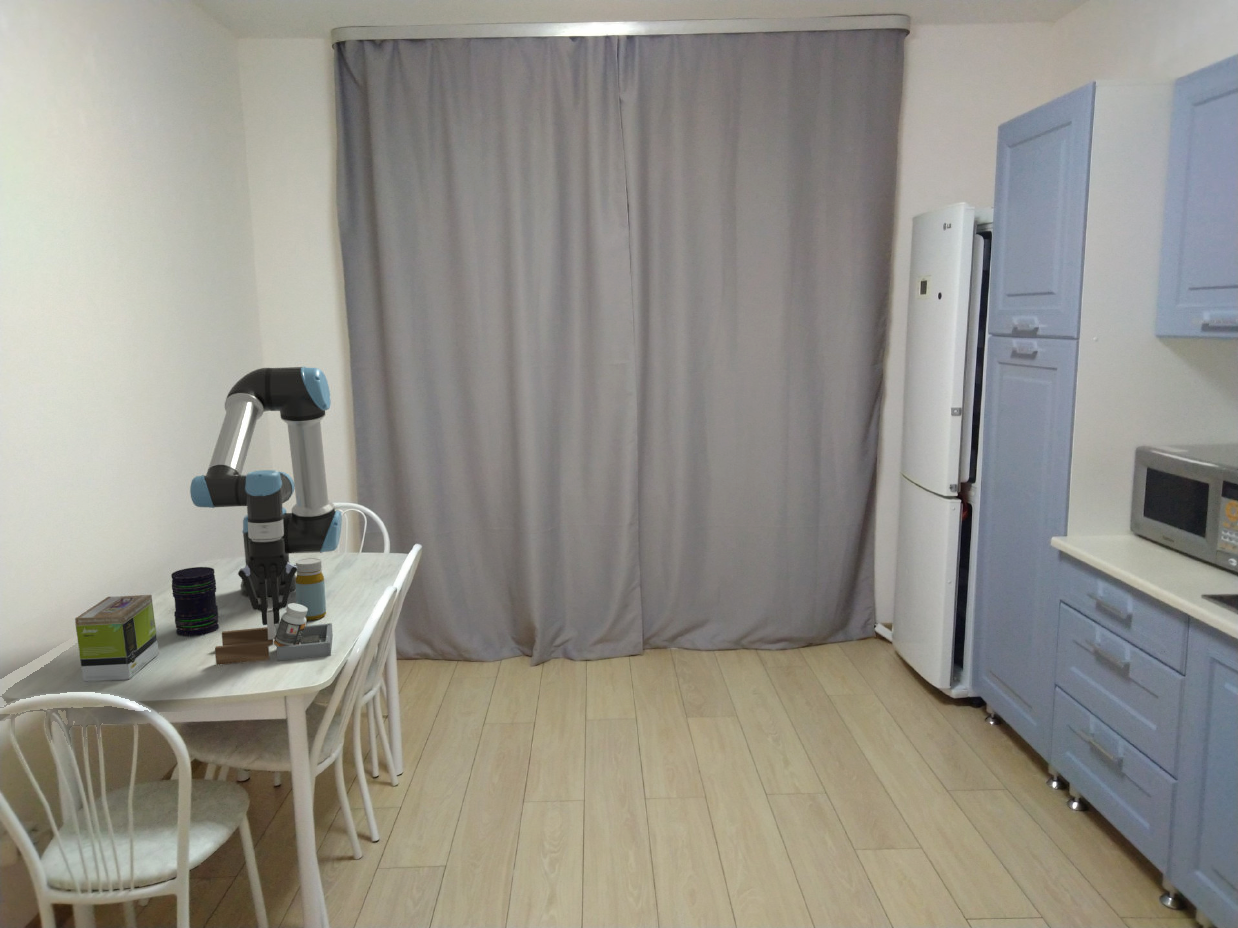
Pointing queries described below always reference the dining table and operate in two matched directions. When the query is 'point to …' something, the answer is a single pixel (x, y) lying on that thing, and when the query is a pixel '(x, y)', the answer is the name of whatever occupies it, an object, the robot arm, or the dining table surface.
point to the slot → (243, 646)
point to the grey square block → (310, 639)
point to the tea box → (116, 638)
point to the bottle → (311, 587)
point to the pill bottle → (291, 625)
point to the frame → (309, 644)
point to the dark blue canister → (195, 601)
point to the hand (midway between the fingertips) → (271, 637)
